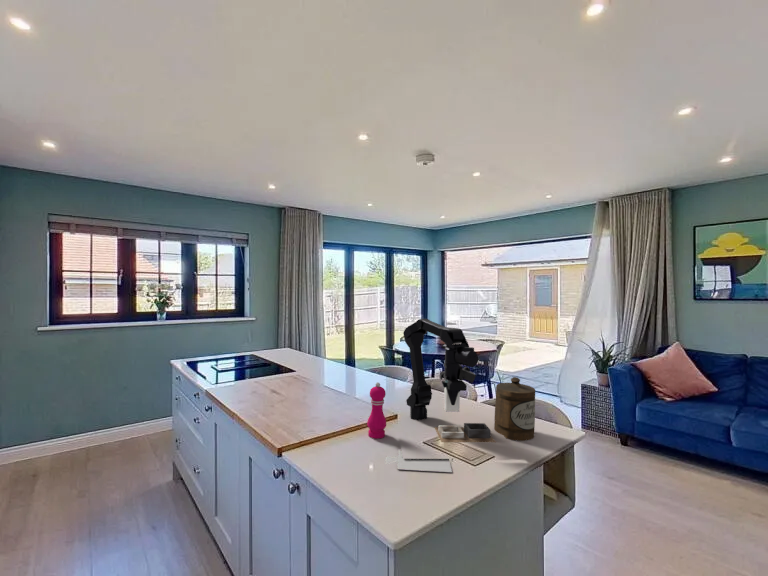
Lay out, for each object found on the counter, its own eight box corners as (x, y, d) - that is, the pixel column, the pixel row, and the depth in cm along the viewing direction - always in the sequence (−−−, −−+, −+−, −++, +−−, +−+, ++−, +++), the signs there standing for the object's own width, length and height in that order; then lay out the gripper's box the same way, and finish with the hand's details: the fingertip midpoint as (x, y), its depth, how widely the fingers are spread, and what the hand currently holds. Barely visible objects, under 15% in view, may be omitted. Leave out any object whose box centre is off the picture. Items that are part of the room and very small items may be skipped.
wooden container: (521, 444, 136) (522, 384, 136) (486, 431, 148) (488, 376, 147) (541, 435, 146) (543, 378, 145) (507, 423, 157) (509, 371, 157)
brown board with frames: (441, 444, 134) (441, 433, 134) (434, 429, 148) (434, 419, 148) (496, 445, 135) (496, 433, 135) (483, 430, 149) (484, 420, 149)
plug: (446, 411, 139) (446, 386, 139) (443, 408, 143) (444, 384, 143) (459, 411, 139) (460, 387, 139) (456, 408, 143) (457, 384, 143)
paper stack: (456, 491, 104) (456, 489, 104) (367, 486, 105) (367, 483, 105) (447, 453, 127) (447, 451, 127) (374, 450, 129) (374, 448, 129)
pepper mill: (384, 440, 137) (385, 385, 137) (364, 438, 138) (366, 384, 138) (387, 432, 144) (389, 380, 144) (369, 430, 145) (370, 379, 145)
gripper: (481, 367, 132) (480, 411, 132) (467, 357, 151) (466, 396, 151) (450, 367, 132) (449, 411, 132) (439, 357, 150) (438, 396, 150)
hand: (451, 403), depth 141 cm, fingers closed on plug, 4 cm apart
